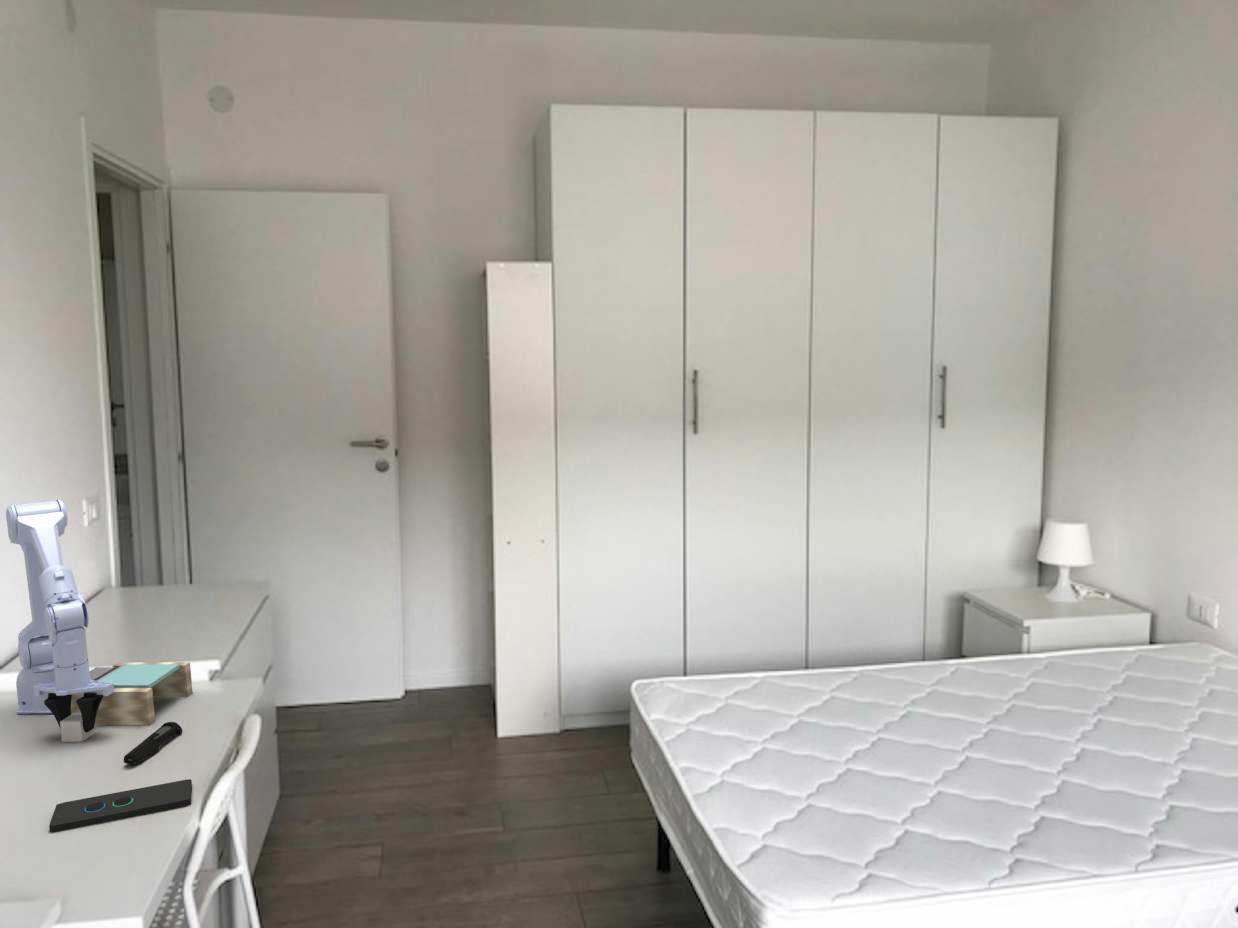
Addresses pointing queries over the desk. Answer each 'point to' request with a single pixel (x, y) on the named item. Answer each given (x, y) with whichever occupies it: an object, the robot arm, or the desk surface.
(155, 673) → the trapdoor
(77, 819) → the smart home device
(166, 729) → the electric trimmer
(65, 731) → the gray cube
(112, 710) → the rail stand
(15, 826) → the desk surface
